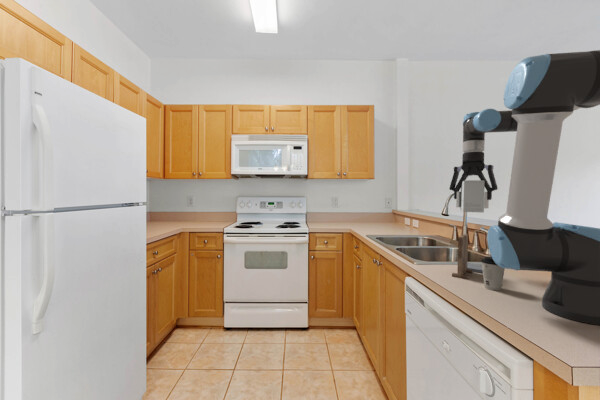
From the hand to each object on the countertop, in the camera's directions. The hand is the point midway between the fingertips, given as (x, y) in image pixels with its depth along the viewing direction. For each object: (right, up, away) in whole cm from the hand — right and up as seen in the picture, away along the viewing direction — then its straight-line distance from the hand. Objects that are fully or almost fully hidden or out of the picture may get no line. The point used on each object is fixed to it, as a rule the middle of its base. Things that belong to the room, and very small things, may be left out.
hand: (471, 207), depth 118 cm
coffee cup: (-6, -26, -22) cm, 35 cm away
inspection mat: (+4, -26, +1) cm, 26 cm away
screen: (-7, -26, -6) cm, 27 cm away
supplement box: (0, -2, 0) cm, 2 cm away
